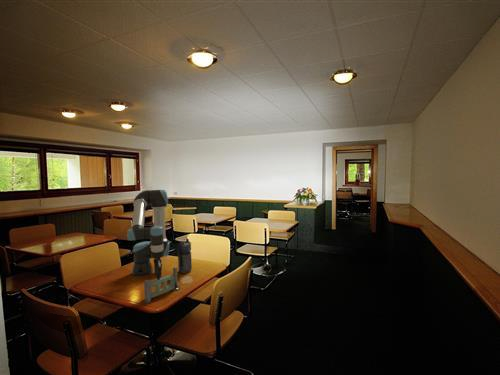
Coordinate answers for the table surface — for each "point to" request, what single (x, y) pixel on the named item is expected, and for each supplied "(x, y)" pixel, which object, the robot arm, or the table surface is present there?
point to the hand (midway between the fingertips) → (158, 286)
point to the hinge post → (175, 279)
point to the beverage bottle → (184, 257)
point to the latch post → (147, 291)
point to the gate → (165, 289)
